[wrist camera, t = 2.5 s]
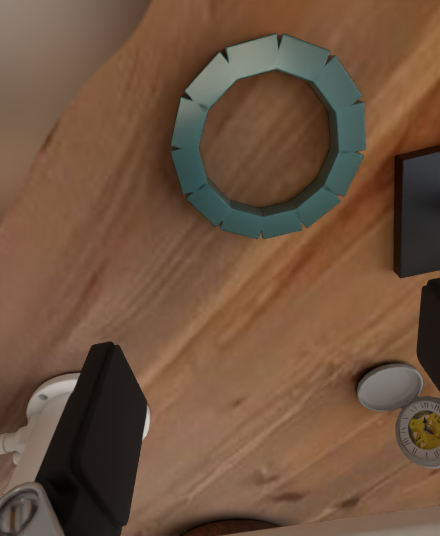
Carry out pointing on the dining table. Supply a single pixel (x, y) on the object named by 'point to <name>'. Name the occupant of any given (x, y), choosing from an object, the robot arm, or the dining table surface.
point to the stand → (417, 212)
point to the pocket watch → (405, 410)
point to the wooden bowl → (229, 527)
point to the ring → (340, 124)
